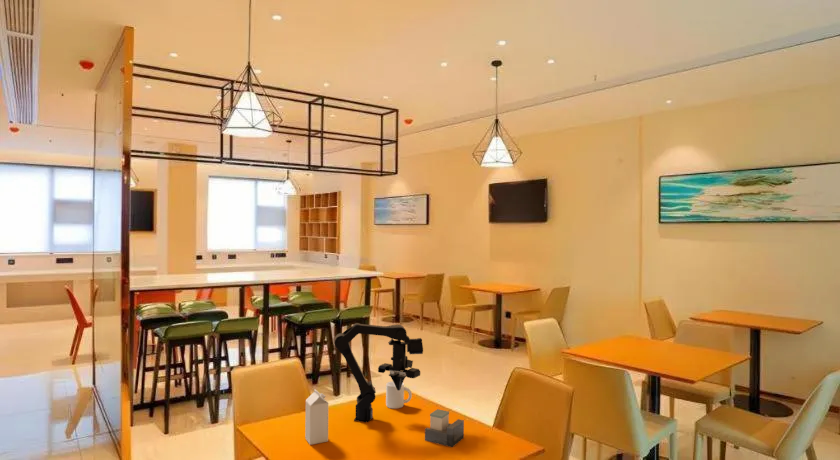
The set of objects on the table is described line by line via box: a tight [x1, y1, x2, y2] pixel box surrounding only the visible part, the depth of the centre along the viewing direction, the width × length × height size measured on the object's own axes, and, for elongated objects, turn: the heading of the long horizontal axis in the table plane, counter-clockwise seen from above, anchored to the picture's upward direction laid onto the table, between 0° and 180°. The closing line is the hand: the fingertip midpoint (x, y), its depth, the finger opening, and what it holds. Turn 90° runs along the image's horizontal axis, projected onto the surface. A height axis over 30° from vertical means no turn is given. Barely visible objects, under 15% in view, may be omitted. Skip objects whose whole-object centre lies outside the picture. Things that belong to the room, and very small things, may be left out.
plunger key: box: [429, 408, 450, 432], centre depth 197 cm, size 5×6×8 cm
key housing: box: [424, 418, 465, 448], centre depth 196 cm, size 12×10×7 cm
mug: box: [385, 380, 413, 410], centre depth 233 cm, size 12×8×10 cm
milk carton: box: [304, 388, 329, 446], centre depth 194 cm, size 7×7×19 cm
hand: (398, 390), depth 218 cm, fingers closed
